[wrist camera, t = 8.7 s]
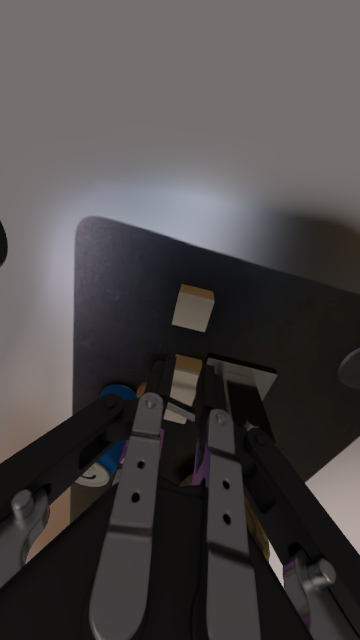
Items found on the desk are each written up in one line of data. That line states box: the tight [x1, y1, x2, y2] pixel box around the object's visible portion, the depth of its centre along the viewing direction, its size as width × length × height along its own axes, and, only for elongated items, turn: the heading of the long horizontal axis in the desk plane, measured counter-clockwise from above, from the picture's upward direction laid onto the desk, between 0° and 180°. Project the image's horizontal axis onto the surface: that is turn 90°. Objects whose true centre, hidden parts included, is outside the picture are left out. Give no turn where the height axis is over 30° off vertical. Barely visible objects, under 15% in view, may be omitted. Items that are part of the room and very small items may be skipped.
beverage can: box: [75, 385, 137, 487], centre depth 29 cm, size 6×6×12 cm
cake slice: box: [172, 284, 215, 332], centre depth 24 cm, size 4×4×4 cm
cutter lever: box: [136, 381, 195, 422], centre depth 24 cm, size 15×3×3 cm, turn 77°
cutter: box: [194, 353, 278, 445], centre depth 26 cm, size 10×8×11 cm
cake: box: [164, 354, 202, 424], centre depth 30 cm, size 4×10×4 cm, turn 167°
